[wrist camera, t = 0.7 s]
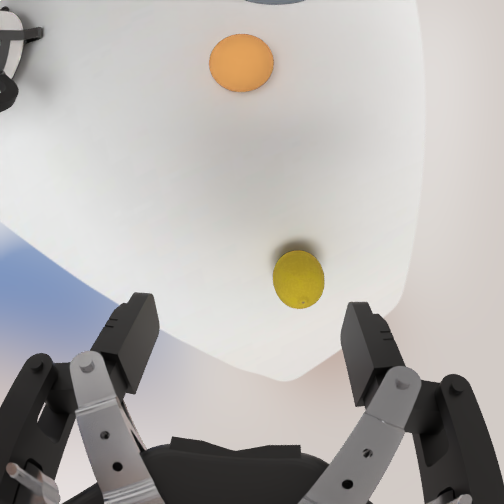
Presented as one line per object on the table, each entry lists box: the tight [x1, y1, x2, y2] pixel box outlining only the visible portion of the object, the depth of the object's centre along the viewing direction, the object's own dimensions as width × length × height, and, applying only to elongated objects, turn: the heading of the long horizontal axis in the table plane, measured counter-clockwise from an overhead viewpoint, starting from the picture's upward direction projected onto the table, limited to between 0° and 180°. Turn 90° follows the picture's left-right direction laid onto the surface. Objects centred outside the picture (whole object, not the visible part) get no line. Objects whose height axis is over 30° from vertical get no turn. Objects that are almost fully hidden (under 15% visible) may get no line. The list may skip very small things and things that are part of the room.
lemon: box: [273, 250, 324, 309], centre depth 32 cm, size 6×6×8 cm
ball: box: [209, 34, 274, 92], centre depth 21 cm, size 6×6×6 cm
